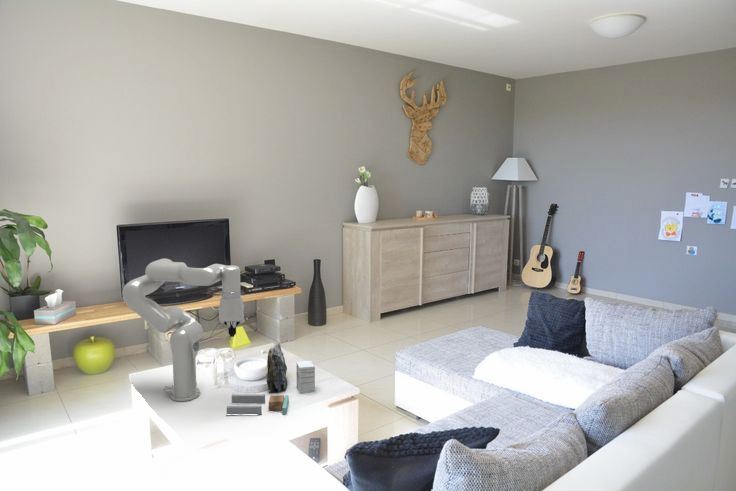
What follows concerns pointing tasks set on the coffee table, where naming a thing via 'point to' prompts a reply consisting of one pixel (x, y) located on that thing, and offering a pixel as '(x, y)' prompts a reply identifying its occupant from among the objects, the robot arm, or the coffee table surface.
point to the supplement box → (305, 377)
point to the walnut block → (276, 402)
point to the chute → (246, 399)
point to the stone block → (276, 369)
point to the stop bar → (285, 405)
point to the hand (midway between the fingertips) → (232, 335)
